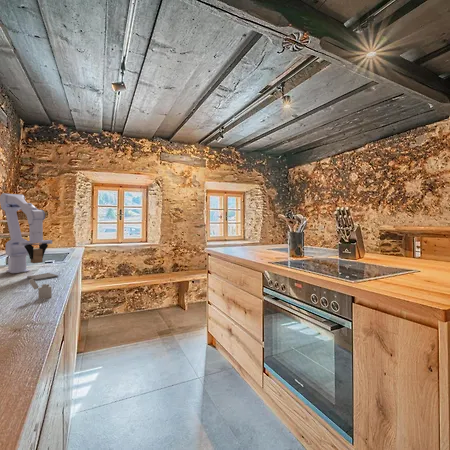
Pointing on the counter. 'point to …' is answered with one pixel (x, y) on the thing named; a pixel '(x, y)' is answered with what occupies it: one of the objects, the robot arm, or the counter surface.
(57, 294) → the counter surface
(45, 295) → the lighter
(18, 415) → the counter surface
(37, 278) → the slate tile
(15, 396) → the counter surface
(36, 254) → the walnut block
